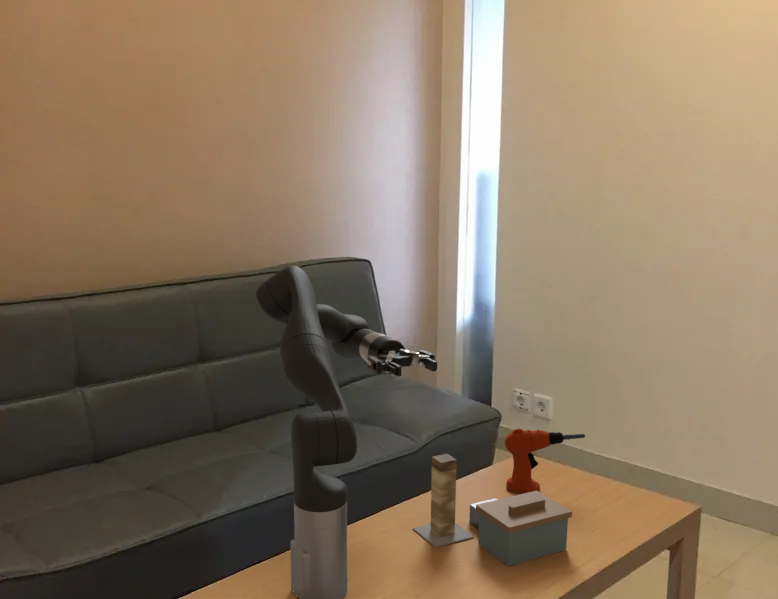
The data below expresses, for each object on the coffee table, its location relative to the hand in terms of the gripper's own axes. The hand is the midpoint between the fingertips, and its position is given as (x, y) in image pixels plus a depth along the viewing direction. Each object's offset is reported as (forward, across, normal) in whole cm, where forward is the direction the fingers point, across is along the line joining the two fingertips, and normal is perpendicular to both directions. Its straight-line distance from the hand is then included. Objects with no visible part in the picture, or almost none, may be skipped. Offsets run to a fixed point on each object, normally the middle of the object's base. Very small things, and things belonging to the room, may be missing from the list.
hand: (417, 369), depth 173 cm
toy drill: (+3, +32, +32) cm, 46 cm away
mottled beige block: (+11, 0, +32) cm, 34 cm away
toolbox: (+23, +11, +32) cm, 41 cm away
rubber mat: (+11, 0, +32) cm, 34 cm away
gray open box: (+13, +11, +32) cm, 36 cm away
